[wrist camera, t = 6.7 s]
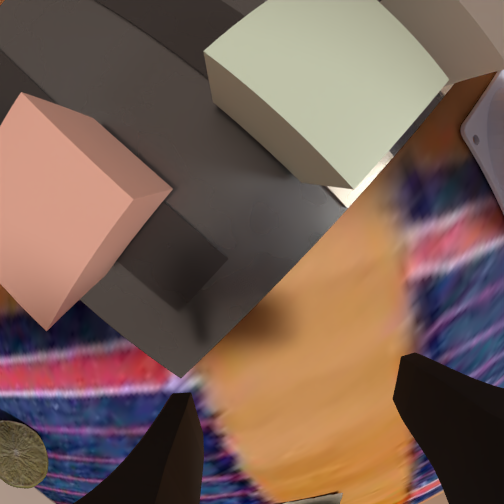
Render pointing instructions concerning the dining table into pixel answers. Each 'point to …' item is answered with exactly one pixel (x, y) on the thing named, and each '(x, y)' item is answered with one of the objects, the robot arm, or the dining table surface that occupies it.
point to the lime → (21, 455)
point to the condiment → (320, 500)
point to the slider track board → (174, 163)
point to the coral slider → (65, 204)
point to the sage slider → (323, 84)
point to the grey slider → (456, 33)
